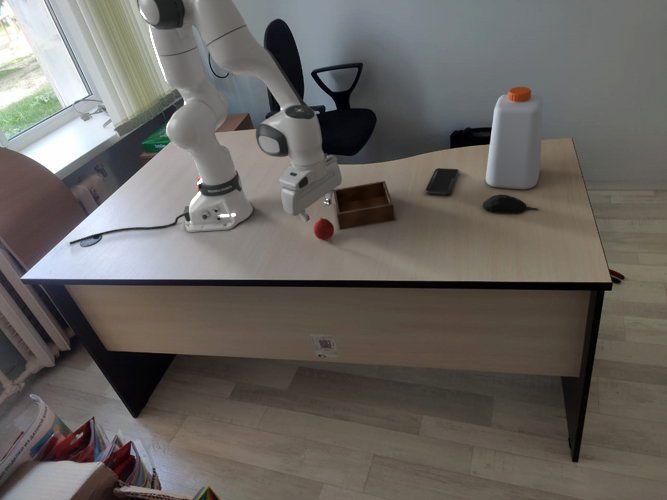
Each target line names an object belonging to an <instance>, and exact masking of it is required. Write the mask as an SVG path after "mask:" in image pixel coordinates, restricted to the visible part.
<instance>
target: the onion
mask: <svg viewBox="0 0 667 500" xmlns="http://www.w3.org/2000/svg"><path fill="white" fill-rule="evenodd" d="M313 233H314V235H315V237H316V238H317V239H318V240H320V241H325V242H326V241H328V240H330V239H331V238H332V237H333V236H334V233H335V226H334V224H333V223H332V221H330V220H329V219H327V218H323V217H322V216H319V217H318V220H317V221H316V222H315V223H314V225H313Z"/></svg>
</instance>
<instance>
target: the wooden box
mask: <svg viewBox="0 0 667 500" xmlns="http://www.w3.org/2000/svg"><path fill="white" fill-rule="evenodd" d="M333 197H334V198H333V199H334V204H335V211H336V217H337V223H338V228H339V230H345V229H349V228H355V227H357V228H358V227H362V226H368V225H373V224H378V223H385V222H391V221H395V219H396V218H395V209H394V203H393V199H392V197H391V194H390V190H389V189H388V186H387V183H386V181H385V180H382V181H381V180H380V181H376V182H369V183H364V184H359V185H354V186H347V187H341V188H336V189H335V188H334V189H333Z"/></svg>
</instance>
